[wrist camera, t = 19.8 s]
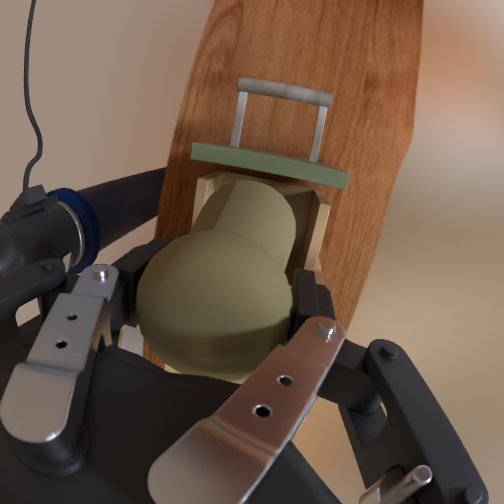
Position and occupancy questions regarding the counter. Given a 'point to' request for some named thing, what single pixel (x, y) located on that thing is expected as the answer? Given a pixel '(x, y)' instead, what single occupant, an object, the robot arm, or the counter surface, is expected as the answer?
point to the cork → (222, 285)
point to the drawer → (277, 170)
